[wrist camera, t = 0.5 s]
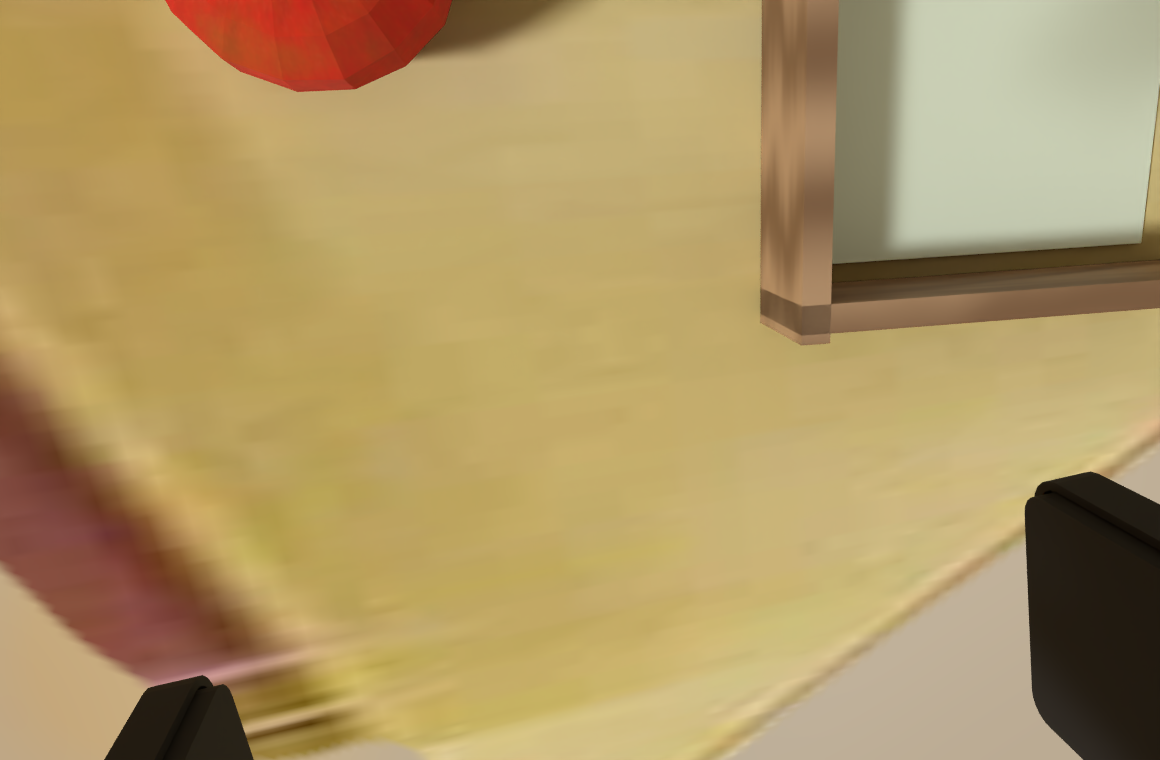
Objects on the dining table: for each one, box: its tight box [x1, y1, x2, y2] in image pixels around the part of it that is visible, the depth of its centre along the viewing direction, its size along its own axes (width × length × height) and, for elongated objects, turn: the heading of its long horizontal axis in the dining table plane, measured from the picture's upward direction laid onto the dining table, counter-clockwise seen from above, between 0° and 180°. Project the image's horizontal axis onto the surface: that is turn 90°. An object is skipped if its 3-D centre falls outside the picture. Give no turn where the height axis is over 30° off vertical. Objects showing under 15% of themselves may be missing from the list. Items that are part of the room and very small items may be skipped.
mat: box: [832, 0, 1160, 264], centre depth 38 cm, size 16×16×1 cm
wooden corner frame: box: [760, 0, 1160, 345], centre depth 36 cm, size 23×20×5 cm
